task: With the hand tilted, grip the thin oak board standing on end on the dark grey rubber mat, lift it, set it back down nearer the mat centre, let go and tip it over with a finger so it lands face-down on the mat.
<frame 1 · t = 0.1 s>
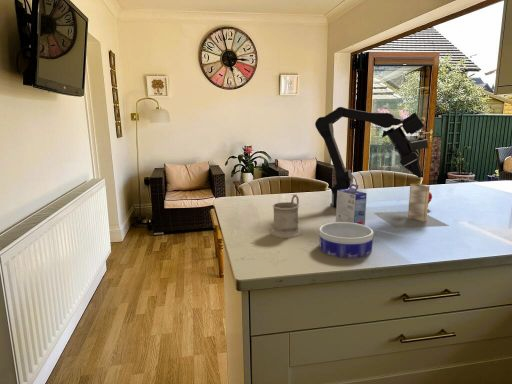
hand: (421, 175, 139), 15 cm above the worktop, tool tilted 35°, fingers open, 9 cm apart
dog bowl: (345, 249, 106), on the worktop
strawberry: (421, 209, 148), on the worktop
mug: (288, 231, 122), on the worktop
ink cartridge box: (350, 225, 129), on the worktop
mat: (408, 219, 133), on the worktop
board: (417, 219, 131), resting on mat
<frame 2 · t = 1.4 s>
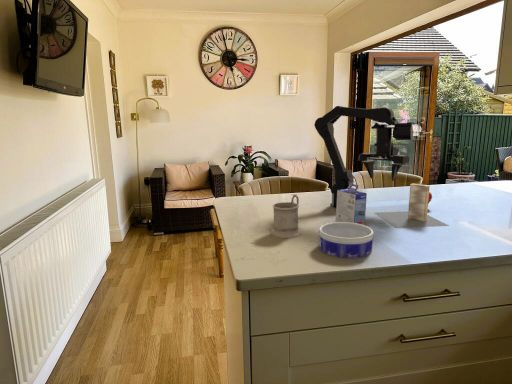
hand: (382, 179, 143), 13 cm above the worktop, tool pointing down, fingers open, 9 cm apart
nothing on the worktop moved.
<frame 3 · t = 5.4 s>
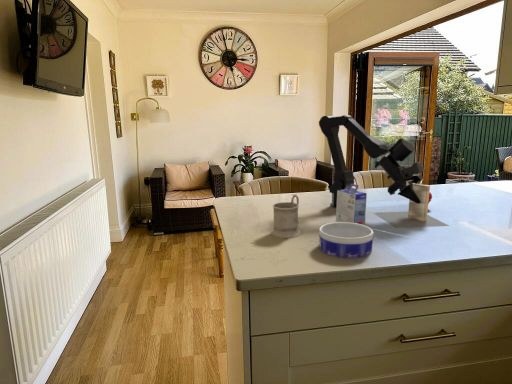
hand: (421, 202, 129), 7 cm above the worktop, tool tilted 45°, fingers closed on board, 2 cm apart
board: (417, 219, 131), resting on mat, touching gripper
everything else where it was.
when the fingers open (8 cm above the worktop, at t = 7.7 s): board moves 1 cm and tips over, resting on mat.
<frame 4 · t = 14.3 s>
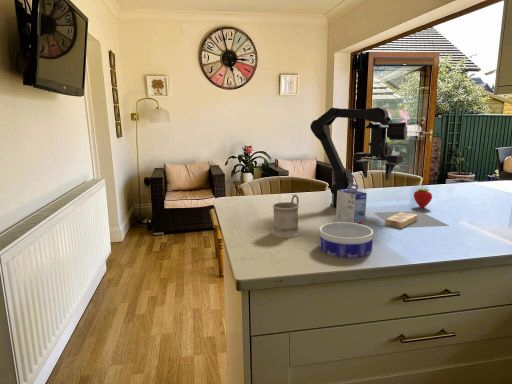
hand: (376, 179, 144), 13 cm above the worktop, tool pointing down, fingers open, 9 cm apart
board: (409, 216, 132), point 1 cm above the worktop, tilted 90°, touching mat
everything else where it was.
at the end: board tilted 90°; board inside the target area (1.0 cm from its centre), point 1.5 cm above the worktop; the gripper is holding nothing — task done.
